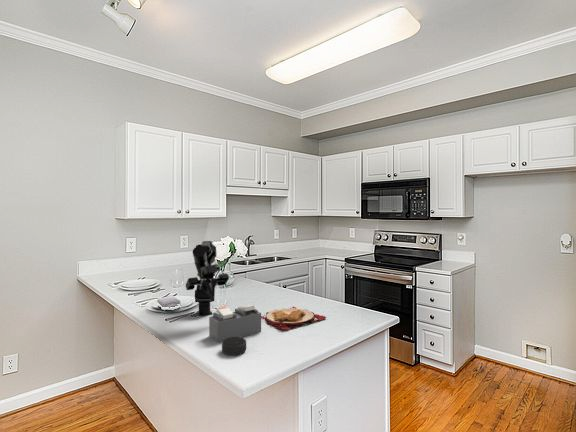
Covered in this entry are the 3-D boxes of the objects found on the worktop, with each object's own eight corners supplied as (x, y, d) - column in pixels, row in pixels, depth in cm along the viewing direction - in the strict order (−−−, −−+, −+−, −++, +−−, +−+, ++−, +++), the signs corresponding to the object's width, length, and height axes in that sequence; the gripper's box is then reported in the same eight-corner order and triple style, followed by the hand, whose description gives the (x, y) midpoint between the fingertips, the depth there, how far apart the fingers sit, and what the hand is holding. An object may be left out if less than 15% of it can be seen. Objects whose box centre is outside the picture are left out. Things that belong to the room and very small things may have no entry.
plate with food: (327, 321, 165) (327, 313, 165) (283, 332, 148) (283, 324, 148) (293, 309, 184) (293, 302, 184) (251, 318, 167) (251, 311, 167)
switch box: (209, 336, 143) (209, 313, 143) (251, 326, 155) (251, 305, 155) (217, 342, 137) (217, 318, 136) (261, 331, 148) (261, 309, 148)
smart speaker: (237, 344, 135) (237, 334, 135) (251, 352, 128) (251, 341, 128) (217, 350, 129) (217, 340, 129) (230, 358, 122) (230, 347, 122)
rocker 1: (216, 311, 144) (216, 307, 143) (226, 309, 146) (226, 306, 146) (222, 319, 139) (223, 315, 138) (232, 317, 141) (233, 313, 141)
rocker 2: (238, 311, 149) (237, 307, 150) (247, 309, 152) (246, 305, 152) (245, 311, 144) (245, 307, 145) (254, 309, 147) (254, 305, 147)
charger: (166, 315, 171) (157, 307, 183) (184, 311, 176) (174, 304, 188) (166, 305, 171) (157, 298, 183) (184, 302, 176) (174, 296, 188)
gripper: (187, 259, 150) (197, 290, 141) (227, 255, 161) (238, 284, 152) (181, 274, 156) (190, 305, 148) (220, 270, 167) (230, 298, 159)
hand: (213, 297), depth 151 cm, fingers closed
